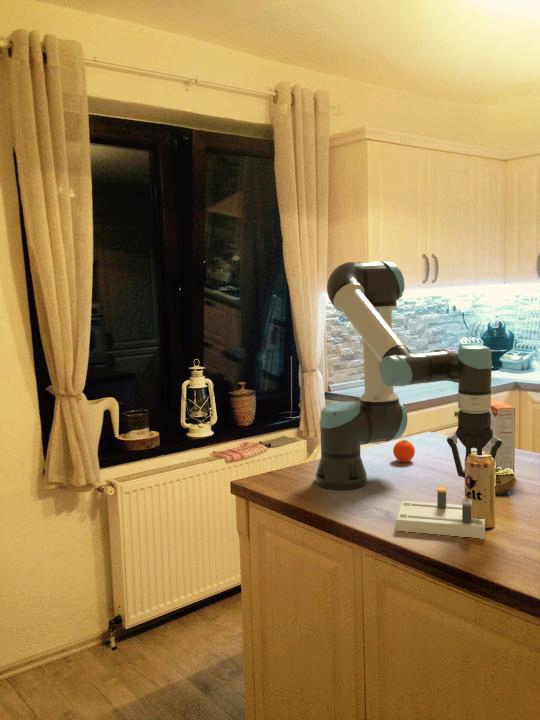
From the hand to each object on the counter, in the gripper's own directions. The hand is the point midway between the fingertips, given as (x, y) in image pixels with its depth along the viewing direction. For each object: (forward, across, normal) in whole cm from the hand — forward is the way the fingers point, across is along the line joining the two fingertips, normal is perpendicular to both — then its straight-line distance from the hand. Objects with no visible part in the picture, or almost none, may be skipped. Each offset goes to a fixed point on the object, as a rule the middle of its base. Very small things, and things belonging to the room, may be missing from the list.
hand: (473, 504), depth 154 cm
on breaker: (+1, -2, -8) cm, 8 cm away
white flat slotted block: (+4, -8, -4) cm, 10 cm away
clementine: (+5, -21, +48) cm, 52 cm away
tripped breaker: (+1, -7, 0) cm, 8 cm away
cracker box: (+5, +7, +44) cm, 45 cm away
